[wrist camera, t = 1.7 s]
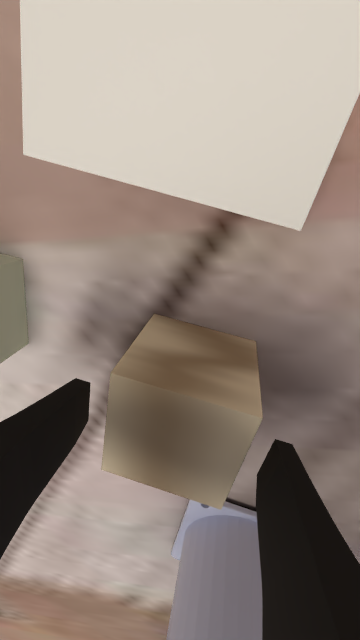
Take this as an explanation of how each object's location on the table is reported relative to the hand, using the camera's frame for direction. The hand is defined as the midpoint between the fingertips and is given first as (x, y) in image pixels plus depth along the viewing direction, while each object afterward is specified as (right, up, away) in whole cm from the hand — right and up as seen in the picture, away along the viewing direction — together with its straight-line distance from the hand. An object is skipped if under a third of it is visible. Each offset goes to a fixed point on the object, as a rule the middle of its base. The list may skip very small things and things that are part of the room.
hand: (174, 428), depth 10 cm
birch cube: (+1, +2, +4) cm, 4 cm away
